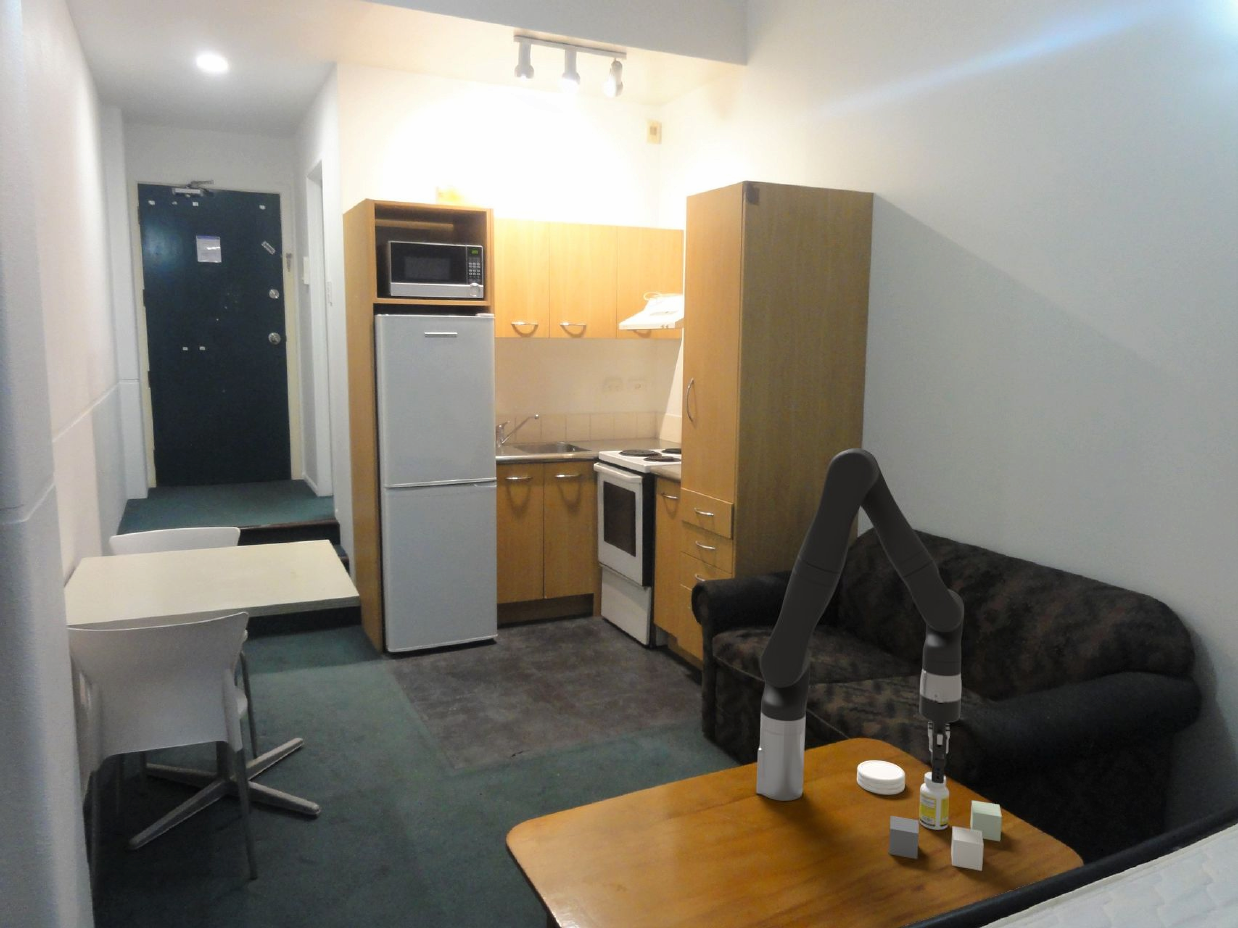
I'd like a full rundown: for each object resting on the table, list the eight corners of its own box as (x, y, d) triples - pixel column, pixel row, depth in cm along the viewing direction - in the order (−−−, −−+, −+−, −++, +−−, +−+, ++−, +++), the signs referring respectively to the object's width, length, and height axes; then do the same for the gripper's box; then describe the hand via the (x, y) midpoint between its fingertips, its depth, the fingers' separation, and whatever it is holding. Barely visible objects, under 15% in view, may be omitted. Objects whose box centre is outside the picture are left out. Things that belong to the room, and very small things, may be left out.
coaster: (848, 776, 193) (848, 761, 193) (888, 772, 195) (889, 757, 195) (871, 798, 183) (872, 782, 183) (913, 793, 186) (914, 777, 185)
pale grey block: (952, 865, 158) (953, 839, 158) (951, 851, 163) (952, 825, 162) (981, 871, 157) (983, 844, 156) (979, 856, 161) (981, 830, 161)
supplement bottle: (943, 817, 175) (946, 770, 174) (951, 831, 170) (953, 783, 169) (915, 815, 176) (918, 769, 175) (922, 829, 170) (925, 781, 169)
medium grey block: (888, 854, 162) (889, 828, 161) (889, 840, 166) (890, 815, 166) (917, 859, 160) (918, 833, 160) (917, 845, 165) (918, 820, 164)
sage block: (971, 836, 168) (973, 812, 168) (970, 824, 173) (971, 800, 172) (1000, 841, 167) (1001, 816, 166) (997, 828, 171) (999, 804, 171)
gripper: (919, 678, 178) (916, 755, 180) (920, 703, 165) (916, 785, 166) (959, 682, 176) (955, 760, 177) (962, 708, 162) (959, 791, 164)
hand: (936, 772), depth 172 cm, fingers open, 8 cm apart
